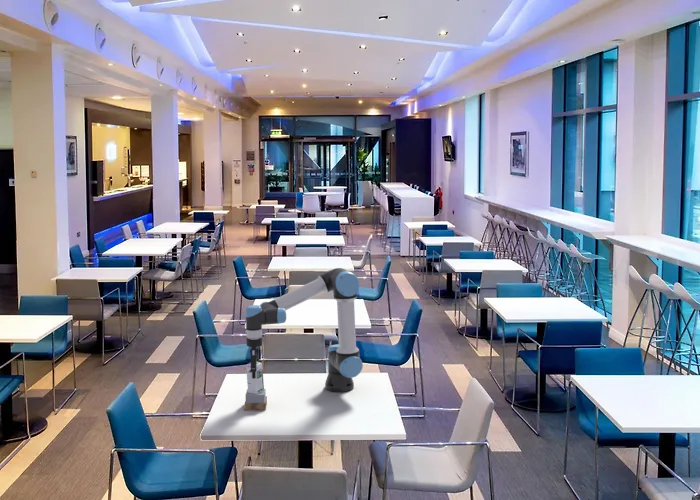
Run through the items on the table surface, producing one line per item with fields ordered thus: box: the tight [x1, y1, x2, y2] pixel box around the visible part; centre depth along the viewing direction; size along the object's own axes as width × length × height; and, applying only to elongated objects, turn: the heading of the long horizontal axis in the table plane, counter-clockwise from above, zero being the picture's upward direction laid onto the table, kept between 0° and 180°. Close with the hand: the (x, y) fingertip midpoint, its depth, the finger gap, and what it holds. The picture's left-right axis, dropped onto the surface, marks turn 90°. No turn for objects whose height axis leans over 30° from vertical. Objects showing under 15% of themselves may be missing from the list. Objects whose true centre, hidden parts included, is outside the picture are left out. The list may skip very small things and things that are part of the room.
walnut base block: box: [244, 396, 268, 412], centre depth 365 cm, size 10×10×4 cm
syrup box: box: [245, 361, 265, 394], centre depth 363 cm, size 6×6×14 cm
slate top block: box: [245, 388, 266, 403], centre depth 365 cm, size 9×9×4 cm
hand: (255, 380), depth 364 cm, fingers open, 13 cm apart
